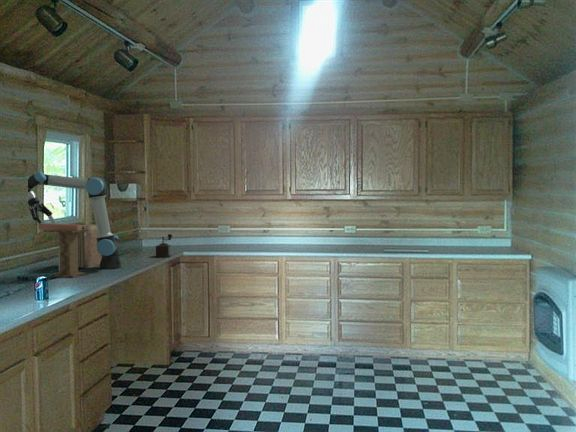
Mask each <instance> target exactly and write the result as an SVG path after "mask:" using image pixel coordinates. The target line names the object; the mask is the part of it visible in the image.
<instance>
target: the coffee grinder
mask: <svg viewBox="0 0 576 432" xmlns="http://www.w3.org/2000/svg"><path fill="white" fill-rule="evenodd" d="M167 237H168V238H167V239H165V238H164V236H162V237H161V239H162V242H161V243H159V244H157V245H156V246H155V258H170V257H171V256H172V254H171V251H172V250H171V247H172V246H171V244H168V243H167V242H165V241H172V238H173V234H171V233H168V234H167Z"/></svg>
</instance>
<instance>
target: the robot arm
mask: <svg viewBox="0 0 576 432" xmlns="http://www.w3.org/2000/svg"><path fill="white" fill-rule="evenodd" d="M38 186H49V187H59V188H68V189H75V190H76V189H77V190H83V191H84V190H85V191H86V192H87V194H88V195H87V196H88V199H89V200H90V201H91V204H92V211H93V214H94V219H95V224H96V226H97V232H98V236H97V237H96V239H97V251H98V252H99V253H100V254H101V255H102V258H101V261H100V264H99V265H98V266H99V267H98V268H99V269H105V270H107V269H108V270H109V269H110V270H111V269H120V268H121V267H122V262H121V259H120V257H119V256H120V254H119V253H120V251H119V245H120V243H119V241H120V240H119V236H118V235H116V234H114V233H112V232H111V227H110V221H109V214H108V210H107V203H106V199H105V198H106V197H107V187H108V186H107V181H106V180H105V179H104V178H101V177H97V176H96V177H87V178H79V177H71V176H61V175H53V174H45V173H44V172H43V171H41V170H38V171H36V172H34V173H33V174H32V175H30V176H29V179H28V188H29V189H28V193H27V198H28V204H29V205H28V204H27V205H28V209H29V211H30V214H31V217H32V219H33V220H34V221H36V222H37V223H38V225H39V224H45V223H44V221H43V220H42V218H41V217H40V214H39V212H40V213H42V214H44V215H46V216H47V219H48V220H49V221H50V224H57V220H55V218H54V217H53V212H52V211H51V210H50V209H49V208H48V207H47V206H45V204H44V202H43V203H40V199H39V197H38V196H37V195H36V193H35V191H33V188H34V189H35V187H38ZM29 206H30V207H29Z"/></svg>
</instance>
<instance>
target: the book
mask: <svg viewBox="0 0 576 432" xmlns="http://www.w3.org/2000/svg"><path fill="white" fill-rule="evenodd" d="M81 225H82V230H86V231H83V232H78V269H80V268H81V269H85V268H86V269H89V268H93V267H96V266H99V264H100V261H101V258H102V255H101V254H100V253H99V252H98V251H97V239H96V237H97V236H98V232H97V226H96V223H88V224H81Z"/></svg>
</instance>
